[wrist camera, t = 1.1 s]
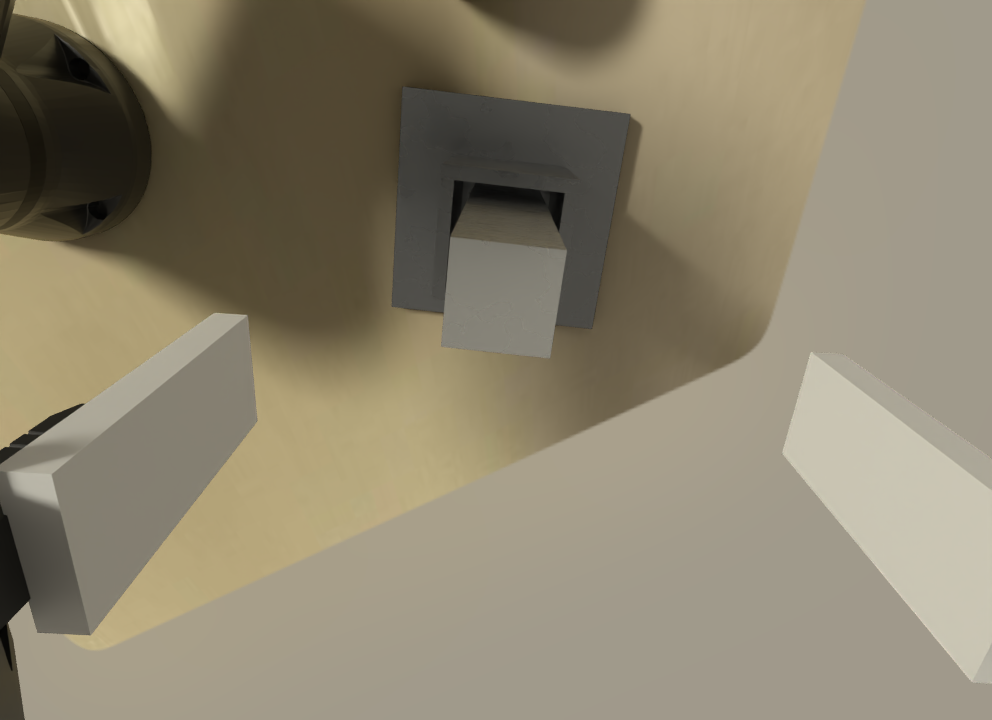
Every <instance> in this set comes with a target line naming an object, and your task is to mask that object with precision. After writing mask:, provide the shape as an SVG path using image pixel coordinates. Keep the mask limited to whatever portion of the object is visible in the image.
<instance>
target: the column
mask: <svg viewBox="0 0 992 720" xmlns="http://www.w3.org/2000/svg"><path fill="white" fill-rule="evenodd" d="M566 253H567V249H566V247H565V245H564V243H563V241H562V238H561V236H560V234H559V232H558V230H557V227H556V225H555V223H554V221H553V219H552V216H551V214H550V212H549V210H548V208H547V205H546V203H545V201H544V199H543V197H542V194H541V192H540V190H536V189H527V188H518V187H510V186H501V185H493V184H484V183H476V182H475V185H474V187H473V189H472V191H471V193H470V195H469V198H468V200H467V202H466V204H465V206H464V208H463V211H462V213H461V215H460V217H459V219H458V221H457V223H456V226H455V228H454V230H453V232H452V234H451V236H450V246H449V258H448V270H447V282H446V294H445V306H444V318H443V330H442V342H441V347H449V348H459V349H468V350H477V351H486V352H495V353H504V354H513V355H522V356H532V357H541V358H550V356H551V349H552V343H553V337H554V330H555V324H556V317H557V311H558V305H559V298H560V292H561V285H562V279H563V272H564V266H565V260H566Z"/></svg>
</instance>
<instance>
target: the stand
mask: <svg viewBox="0 0 992 720" xmlns="http://www.w3.org/2000/svg"><path fill="white" fill-rule="evenodd" d="M629 120H630V114H626V113H618V112H609V111H601V110H593V109H584V108H576V107H568V106H560V105H551V104H543V103H535V102H527V101H518V100H510V99H502V98H494V97H485V96H477V95H469V94H460V93H452V92H444V91H436V90H427V89H419V88H411V87H403V88H402V108H401V129H400V149H399V169H398V189H397V209H396V230H395V250H394V270H393V290H392V307H398V308H407V309H416V310H425V311H434V312H443V313H444V306H445V294H446V282H447V270H448V258H449V246H450V236H451V234H452V232H453V230H454V228H455V226H456V223H457V221H458V219H459V217H460V215H461V213H462V211H463V208H464V206H465V204H466V202H467V200H468V198H469V195H470V193H471V191H472V189H473V187H474V185H475V182H476V183H484V184H493V185H501V186H510V187H518V188H527V189H536V190H540V192H541V194H542V197H543V199H544V201H545V203H546V205H547V208H548V210H549V212H550V214H551V216H552V219H553V221H554V223H555V225H556V227H557V230H558V232H559V234H560V236H561V238H562V241H563V243H564V245H565V247H566V249H567V253H566V260H565V266H564V272H563V279H562V285H561V292H560V298H559V305H558V311H557V317H556V324H555V325H560V326H569V327H578V328H587V329H592V325H593V320H594V314H595V309H596V303H597V298H598V292H599V286H600V281H601V275H602V270H603V264H604V259H605V253H606V248H607V242H608V236H609V231H610V225H611V220H612V214H613V209H614V203H615V198H616V192H617V186H618V181H619V175H620V170H621V164H622V159H623V153H624V147H625V142H626V136H627V131H628V125H629Z"/></svg>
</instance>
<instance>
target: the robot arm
mask: <svg viewBox="0 0 992 720" xmlns="http://www.w3.org/2000/svg"><path fill="white" fill-rule="evenodd" d="M15 1H16V0H0V234H5V235H11V236H17V237H23V238H29V239H35V240H42V241H67V240H74V239H79V238H83V237H86V236H90V235H93V234H97V233H100V232H103V231H105V230H108V229H110V228H112V227H114V226H115V225H117V224H118V223H120V222H121V221H122V220H124V219H125V218H126V217H127V216H128V215H129V214H130V213H131V212H132V211H133V210H134V208H135V207H136V206H137V204H138V203H139V201H140V199H141V197H142V195H143V193H144V191H145V188H146V185H147V182H148V178H149V173H150V166H151V145H150V138H149V133H148V128H147V124H146V121H145V118H144V115H143V112H142V109H141V107H140V105H139V103H138V100H137V98H136V96H135V95H134V93H133V91H132V89H131V87H130V86H129V84H128V83H127V81H126V80H125V78H124V77H123V76H122V74H121V73H120V72H119V70H118V69H117V68H116V67H115V66H114V64H113V63H112V62H111V61H110V60H109V59H108V58H107V57H106V56H105V55H104V54H103V53H102V52H101V51H99V50H98V49H97V48H96V47H95V46H93V45H92V44H91V43H89V42H88V41H87V40H85V39H84V38H82V37H81V36H79V35H78V34H76V33H74V32H72V31H71V30H69V29H67V28H64V27H62V26H60V25H57V24H55V23H52V22H49V21H46V20H42V19H38V18H33V17H28V16H23V15H18V14H12V13H13V9H14V5H15ZM256 422H257V411H256V400H255V389H254V378H253V367H252V356H251V345H250V334H249V323H248V315H240V314H225V313H213V314H212V315H210V316H209V317H208V318H206V319H205V320H203V321H202V322H201V323H199V324H198V325H196V326H195V327H193V328H192V329H191V330H189V331H188V332H186V333H185V334H184V335H182V336H181V337H179V338H178V339H177V340H175V341H174V342H172V343H171V344H169V345H168V346H167V347H165V348H164V349H162V350H161V351H160V352H158V353H157V354H155V355H154V356H153V357H151V358H150V359H148V360H147V361H145V362H144V363H143V364H141V365H140V366H138V367H137V368H136V369H134V370H133V371H131V372H130V373H128V374H127V375H126V376H124V377H123V378H121V379H120V380H119V381H117V382H116V383H114V384H113V385H112V386H110V387H109V388H107V389H106V390H104V391H103V392H102V393H100V394H99V395H97V396H96V397H95V398H93V399H92V400H90V401H89V402H87V403H86V404H79V405H77V406H74V407H72V408H69V409H67V410H64V411H62V412H59V413H57V414H54V415H52V416H50V417H49V418H47V419H46V420H44V421H43V422H41V423H40V424H38V425H37V426H35V427H34V428H32V429H31V430H29V433H28V434H24V435H22V436H21V437H19V438H18V439H16V440H15V441H13V442H12V443H10V446H9V447H4V448H3V449H1V450H0V720H25V719H24V712H23V705H22V698H21V692H20V684H19V677H18V670H17V664H16V656H15V649H14V643H13V638H12V635H11V632H10V629H9V625H8V622H9V621H10V620H11V618H12V617H13V616H14V615H15V614H16V613H17V612H18V611H19V610H20V609H21V608H22V607H23V606H24V605H25V604H26V603H27V602H28V601H29V605H30V608H31V612H32V615H33V619H34V622H35V625H36V629H37V632H38V633H57V634H75V635H91V634H92V633H93V632H94V630H95V629H96V628H97V627H98V625H99V624H100V623H101V621H102V620H103V619H104V618H105V616H106V615H107V614H108V612H109V611H110V610H111V609H112V607H113V606H114V605H115V603H116V602H117V601H118V600H119V598H120V597H121V596H122V595H123V593H124V592H125V591H126V589H127V588H128V587H129V586H130V584H131V583H132V582H133V580H134V579H135V578H136V577H137V575H138V574H139V573H140V571H141V570H142V569H143V568H144V566H145V565H146V564H147V562H148V561H149V560H150V559H151V557H152V556H153V555H154V553H155V552H156V551H157V550H158V548H159V547H160V546H161V544H162V543H163V542H164V541H165V539H166V538H167V537H168V535H169V534H170V533H171V532H172V530H173V529H174V528H175V526H176V525H177V524H178V523H179V521H180V520H181V519H182V517H183V516H184V515H185V514H186V512H187V511H188V510H189V508H190V507H191V506H192V505H193V503H194V502H195V501H196V499H197V498H198V497H199V496H200V494H201V493H202V492H203V490H204V489H205V488H206V487H207V485H208V484H209V483H210V481H211V480H212V479H213V478H214V476H215V475H216V474H217V472H218V471H219V470H220V469H221V467H222V466H223V465H224V464H225V462H226V461H227V460H228V458H229V457H230V456H231V455H232V453H233V452H234V451H235V449H236V448H237V447H238V446H239V444H240V443H241V442H242V440H243V439H244V438H245V437H246V435H247V434H248V433H249V431H250V430H251V429H252V428H253V426H254V425H255V424H256ZM782 454H783V455H784V456H785V458H786V459H787V460H788V461H789V462H790V464H791V465H792V466H793V467H794V468H795V470H796V471H797V472H798V473H799V474H800V476H801V477H802V478H803V479H804V481H805V482H806V483H807V484H808V485H809V487H810V488H811V489H812V490H813V491H814V492H815V494H816V495H817V496H818V497H819V499H820V500H821V501H822V502H823V503H824V505H825V506H826V507H827V508H828V509H829V511H830V512H831V513H832V514H833V515H834V517H835V518H836V519H837V520H838V521H839V523H840V524H841V525H842V526H843V527H844V529H845V530H846V531H847V532H848V533H849V535H850V536H851V537H852V538H853V540H854V541H855V542H856V543H857V544H858V546H859V547H860V548H861V549H862V550H863V552H864V553H865V554H866V555H867V556H868V557H869V559H870V560H871V561H872V562H873V564H874V565H875V566H876V567H877V568H878V570H879V571H880V572H881V573H882V574H883V576H884V577H885V578H886V579H887V581H888V582H889V583H890V584H891V585H892V587H893V588H894V589H895V590H896V591H897V592H898V594H899V595H900V596H901V597H902V599H904V601H905V602H906V603H907V605H908V606H909V607H910V608H911V609H912V611H913V612H914V613H915V614H916V615H917V617H918V618H919V619H920V620H921V621H922V623H923V624H924V625H925V626H926V628H927V629H928V630H929V631H930V632H931V633H932V635H933V636H934V637H935V638H936V640H937V641H938V642H939V643H940V644H941V645H942V647H943V648H944V649H945V650H946V652H947V653H948V654H949V655H950V656H951V658H952V659H953V660H954V661H955V662H956V664H957V665H958V666H959V667H960V668H961V670H962V671H963V672H964V673H965V674H966V676H967V677H968V678H969V679H970V681H971V682H976V683H992V458H990V457H989V456H988V455H986V454H985V453H983V452H982V451H980V450H979V449H977V448H976V447H975V446H973V445H972V444H971V443H969V442H968V441H966V440H965V439H963V438H962V437H960V436H959V435H958V434H956V433H955V432H953V431H952V430H950V429H949V428H948V427H946V426H945V425H944V424H942V423H941V422H939V421H938V420H936V419H935V418H934V417H932V416H931V415H929V414H928V413H926V412H925V411H924V410H922V409H921V408H919V407H918V406H916V405H915V404H914V403H912V402H911V401H909V400H908V399H907V398H905V397H904V396H902V395H901V394H899V393H898V392H897V391H895V390H894V389H892V388H891V387H889V386H888V385H887V384H885V383H884V382H882V381H881V380H879V379H878V378H877V377H875V376H874V375H872V374H871V373H869V372H868V371H867V370H865V369H864V368H862V367H861V366H860V365H858V364H856V363H855V362H854V361H852V360H851V359H850V358H848V357H847V356H845V355H844V354H837V353H822V352H811V353H810V357H809V360H808V364H807V367H806V371H805V374H804V378H803V381H802V385H801V388H800V392H799V396H798V399H797V402H796V406H795V409H794V413H793V417H792V420H791V424H790V427H789V431H788V435H787V438H786V442H785V445H784V449H783V452H782Z"/></svg>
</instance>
